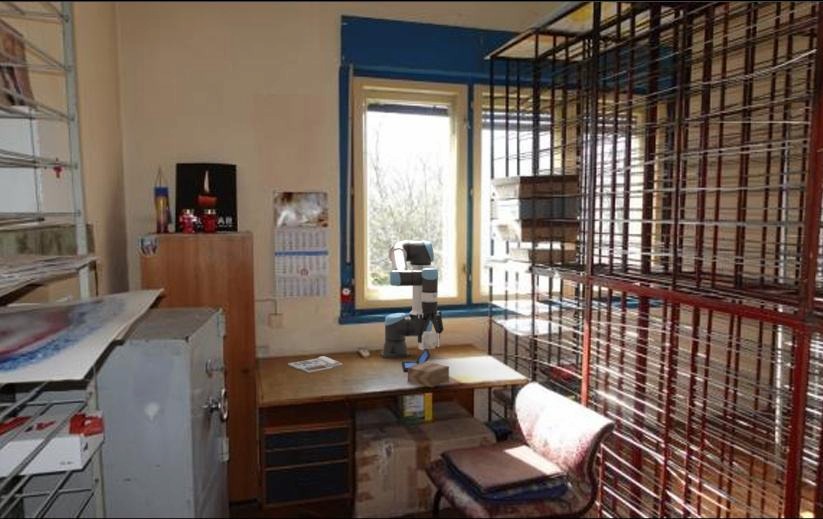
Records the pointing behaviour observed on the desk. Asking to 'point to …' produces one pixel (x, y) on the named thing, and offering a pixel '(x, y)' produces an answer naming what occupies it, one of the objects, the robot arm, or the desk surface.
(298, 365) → the office telephone
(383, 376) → the desk surface
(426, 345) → the die
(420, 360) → the handheld game console
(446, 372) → the walnut block
